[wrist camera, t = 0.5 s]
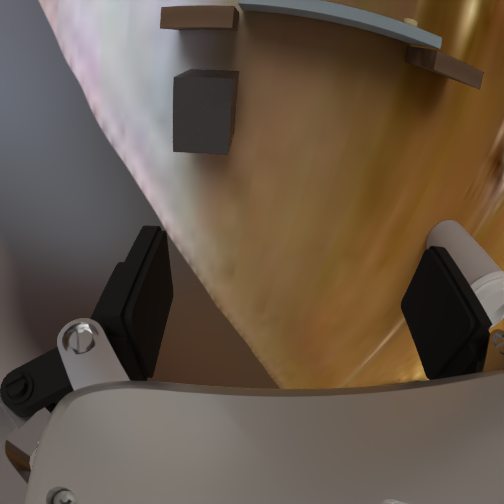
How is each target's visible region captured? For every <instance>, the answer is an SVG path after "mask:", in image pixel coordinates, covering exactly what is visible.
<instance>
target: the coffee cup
mask: <svg viewBox="0 0 504 504" xmlns="http://www.w3.org/2000/svg"><path fill="white" fill-rule="evenodd" d="M430 246H440V247H445V248H446V250H447V251H448V252H449V254H450V255H451V257H452V258H453V260H454V261H455V263H456V264H457V266H458V267H459V269H460V270H461V272H462V274H463V275H464V277H465V278H466V280H467V281H468V283H469V285H470V286H471V288H472V289H473V291H474V293H475V294H476V296H477V298H478V299H479V301H480V303H481V305H482V306H483V308H484V310H485V311H486V313H487V315H488V317H489V319H490V320H491V322H492V326H491V327H490V328H492V327H493V326H495V325H496V324H497V323H499V322H500V321H501V320H502V319H503V318H504V271H502V270H501V269H500V268H499V267H498V265H497V264H496V263H495V262H494V261H493V260H492V259H491V257H490V256H489V255H488V254H487V253H486V252H485V251H484V250H483V248H482V247H481V246H480V245H479V244H478V243H477V242H476V241H475V240H474V239H473V238H472V236H471V235H470V234H469V233H468V232H467V231H466V230H465V229H464V228H463V227H462V226H461V225H460V224H459V223H458V222H457V221H455V220H445V221H442V222H440V223H439V224H437V225H436V226H435V227H434V228H433V229H432V230H431V231H430V233H429V235H428V237H427V240H426V247H427V249H428V248H429V247H430ZM490 328H489V329H490Z"/></svg>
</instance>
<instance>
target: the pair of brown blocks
mask: <svg viewBox="0 0 504 504" xmlns="http://www.w3.org/2000/svg"><path fill="white" fill-rule="evenodd" d="M238 19H239V12H238V11H237V9H236V8H235V7H234V6H174V7H161V21H160V28H162V29H174V30H235V31H237V30H238ZM405 62H407V63H410V64H413V65H415V66H418V67H421V68H424V69H427V70H429V71H432V72H435V73H437V74H440V75H442V76H445V77H447V78H450V79H453V80H456V81H458V82H461V83H464V84H466V85H469V86H472V87H474V88H477V89H479V90H480V88H481V83H482V78H483V74H484V72H482V71H480V70H478V69H476V68H474V67H472V66H470V65H468V64H466V63H464V62H462V61H460V60H457V59H455V58H453V57H451V56H448V55H446V54H444V53H441V52H439V51H436V50H430V49H424V48H418V47H411V46H408V50H407V56H406V61H405Z"/></svg>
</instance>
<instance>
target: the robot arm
mask: <svg viewBox="0 0 504 504" xmlns="http://www.w3.org/2000/svg"><path fill="white" fill-rule="evenodd" d="M172 299H173V285H172V277H171V269H170V260H169V252H168V243H167V233H166V231H161V228H160V226H143V227H142V229H141V231H140V233H139V235H138V236H137V238H136V240H135V242H134V244H133V246H132V248H131V250H130V252H129V254H128V256H127V258H126V260H125V262H119V263H118V264H117V265H116V267H115V269H114V271H113V273H112V275H111V277H110V279H109V281H108V283H107V285H106V287H105V289H104V291H103V293H102V295H101V297H100V299H99V302H98V303H97V305H96V308H95V310H94V312H93V314H92V316H91V319H87V318H84V319H77V320H74V321H72V322H70V323H68V324H67V325H66V326H65V327H64V328H63V329H62V330H61V332H60V333H59V335H58V340H57V344H58V347H56V348H54V349H52V350H50V351H49V352H47V353H45V354H43V355H41V356H39V357H37V358H35V359H33V360H31V361H30V362H28V363H26V364H24V365H22V366H20V367H18V368H16V369H14V370H13V371H11V372H10V373H9V374H7V376H6V377H5V378H4V379H3V382H2V384H1V388H0V504H504V331H503V330H500V329H496V330H493V331H492V332H491V333H489V331H488V330H489V328H490V327H491V326H492V322H491V320H490V319H489V317H488V315H487V313H486V311H485V310H484V308H483V306H482V305H481V303H480V301H479V299H478V298H477V296H476V294H475V293H474V291H473V289H472V288H471V286H470V285H469V283H468V281H467V280H466V278H465V277H464V275H463V274H462V272H461V270H460V269H459V267H458V266H457V264H456V263H455V261H454V260H453V258H452V257H451V255H450V254H449V252H448V251H447V250H446V248H445V247H440V246H430V247H429V248H428V249H427V250H425V252H424V254H423V256H422V259H421V261H420V263H419V265H418V268H417V270H416V272H415V274H414V276H413V278H412V281H411V283H410V285H409V287H408V289H407V291H406V293H405V295H404V297H403V299H402V302H401V309H402V312H403V314H404V317H405V319H406V322H407V324H408V327H409V330H410V332H411V335H412V338H413V340H414V343H415V346H416V348H417V351H418V354H419V357H420V360H421V362H422V365H423V368H424V371H425V374H426V377H427V378H428V379H430V380H427V381H420V382H411V383H402V384H392V385H381V386H368V387H353V388H331V389H255V388H234V387H232V388H231V387H215V386H201V385H189V384H177V383H165V382H152V381H147V378H148V377H150V378H152V377H153V374H154V370H155V366H156V362H157V358H158V354H159V349H160V346H161V341H162V338H163V334H164V330H165V326H166V322H167V318H168V315H169V311H170V307H171V303H172ZM39 440H40V441H39ZM38 441H39V444H38ZM36 448H37V450H36V454H35V458H34V461H33V465H32V469H30V464H29V462H30V456H31V455H32V453H33V451H34V450H35V449H36Z"/></svg>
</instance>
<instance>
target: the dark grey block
mask: <svg viewBox="0 0 504 504" xmlns="http://www.w3.org/2000/svg"><path fill="white" fill-rule="evenodd" d="M238 74H239V71H228V70H201V69H190V70H188V71H186V72H184V73H182V74H179V75H177V76H175V77H174V86H173V152H188V153H207V154H223V155H228V153H229V149H230V145H231V141H232V137H233V134H234V123H235V110H236V97H237V85H238Z"/></svg>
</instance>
